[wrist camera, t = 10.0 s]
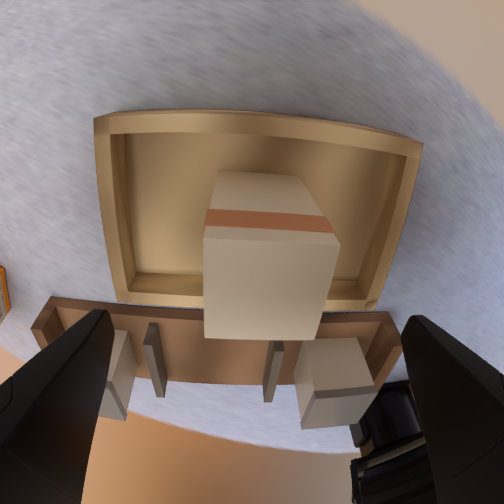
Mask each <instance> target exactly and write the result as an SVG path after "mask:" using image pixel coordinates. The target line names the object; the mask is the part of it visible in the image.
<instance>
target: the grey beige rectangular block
mask: <svg viewBox="0 0 504 504" xmlns="http://www.w3.org/2000/svg"><path fill="white" fill-rule="evenodd" d="M293 375H294V381H295V387H296V393H297V399H298V405H299V411H300V417H301V422H300V423H301V429H314V428H325V427H334V426H342V425H350V424H357V423H358V421H359V420H360V419H361V417H362V416H363V414H364V413H365V412H366V410H367V409H368V407H369V406H370V404H371V403H372V401H373V400H374V398H375V397H376V395H377V394H378V390H377V387H376V385H374V382H373V379H372V377H371V374H370V371H369V369H368V366H367V363H366V361H365V358H364V355H363V353H362V350H361V347H360V345H359V342H358V340H357V337H352V338H325V339H314V340H303V341H302V345H301V349H300V352H299V356H298V359H297V363H296V366H295V370H294V373H293Z"/></svg>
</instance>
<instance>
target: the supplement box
mask: <svg viewBox="0 0 504 504" xmlns="http://www.w3.org/2000/svg"><path fill="white" fill-rule="evenodd" d="M9 311H10V304H9V298H8V291H7V285H6V277H5V270H4V268H2V267H0V324H1V323H2V321H3V320H4V318H5V316H6V315H7V313H8V312H9Z"/></svg>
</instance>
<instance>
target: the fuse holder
mask: <svg viewBox="0 0 504 504" xmlns="http://www.w3.org/2000/svg"><path fill="white" fill-rule="evenodd" d="M94 308H103V309H107V310H108V311H109V313H110V316H111V319H112V323H113V326H114V329H116V330H124V331H128V334H129V338H130V341H131V345H132V349H133V352H134V356H135V359H136V362H137V366H138V368H137V372H136V375H135V377H139V378H148V379H152V382H153V386H154V389H155V393H156V396H157V397H163V398H165V391H166V385H167V381H178V382H191V383H207V384H231V385H263V396H264V402H272V400H273V396H274V392H275V388H276V385H289V384H295V381H294V375H293V373H294V370H295V366H296V363H297V359H298V356H299V352H300V349H301V345H302V341H303V340H239V339H215V338H204V310H189V309H173V308H159V307H145V306H133V305H122V304H112V303H102V302H92V301H83V300H74V299H66V298H58V297H50V298H49V300H48V301H47V303H46V304H45V306H44V307H43V309H42V311H41V312H40V314H39V315H38V317H37V319H36V320H35V322H34V323H33V325H32V327H31V330H32V332H33V335H34V337H35V339H36V341H37V343H38V345H39V346H40V348H41V350H42V349H44V348H45V347H46V346H47V345H48V344H50V343H51V342H52V341H53V340H55V339H56V338H57V337H58V336H60V335H61V334H62V333H63V332H64V331H66V330H67V329H68V328H69V327H71V326H72V325H73V324H75V323H76V322H77V321H78V320H80V319H81V318H82V317H83V316H85V315H86V314H87V313H89V312H90V311H91V310H92V309H94ZM352 337H357V340H358V342H359V345H360V347H361V350H362V353H363V355H364V358H365V361H366V363H367V366H368V369H369V371H370V374H371V377H372V379H373V382H374V385H376V387H377V390H378V391H379V390H380V388H381V386H382V385H383V383H384V382H385V380H386V379H387V377H388V375H389V374H390V372H391V370H392V369H393V367H394V365H395V364H396V362H397V360H398V359H399V357H400V355H401V353H402V352H403V349H402V344H401V335H400V333H399V331H398V329H397V327H396V326H395V324H394V322H393V320H392V318H391V316H390V314H389V312H363V313H322V316H321V320H320V323H319V326H318V330H317V333H316V336H315V339H325V338H352Z"/></svg>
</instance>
